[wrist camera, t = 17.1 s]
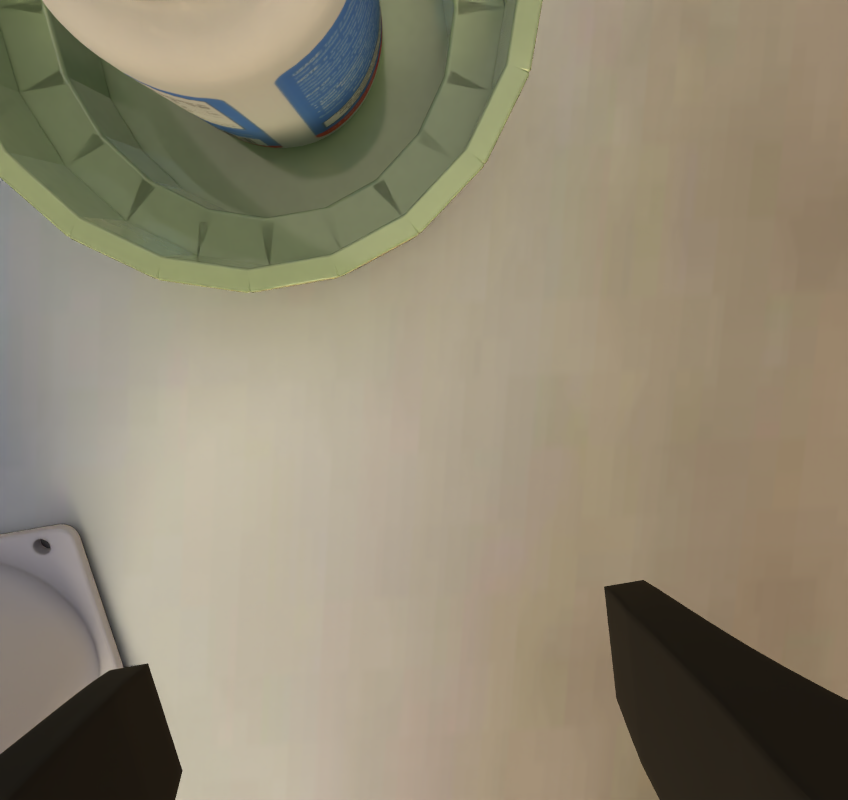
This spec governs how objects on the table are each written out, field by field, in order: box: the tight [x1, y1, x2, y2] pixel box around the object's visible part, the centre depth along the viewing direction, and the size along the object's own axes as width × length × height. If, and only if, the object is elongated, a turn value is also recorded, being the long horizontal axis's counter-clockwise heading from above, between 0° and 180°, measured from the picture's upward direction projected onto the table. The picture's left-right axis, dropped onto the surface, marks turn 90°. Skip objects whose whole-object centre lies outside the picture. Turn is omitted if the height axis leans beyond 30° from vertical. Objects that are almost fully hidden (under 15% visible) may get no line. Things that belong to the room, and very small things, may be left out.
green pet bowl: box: [0, 0, 543, 293], centre depth 14 cm, size 12×12×5 cm
